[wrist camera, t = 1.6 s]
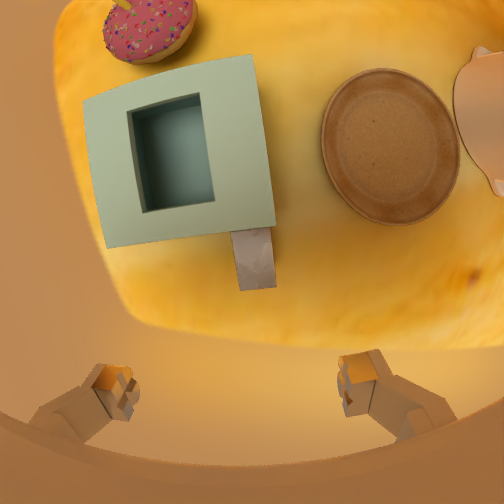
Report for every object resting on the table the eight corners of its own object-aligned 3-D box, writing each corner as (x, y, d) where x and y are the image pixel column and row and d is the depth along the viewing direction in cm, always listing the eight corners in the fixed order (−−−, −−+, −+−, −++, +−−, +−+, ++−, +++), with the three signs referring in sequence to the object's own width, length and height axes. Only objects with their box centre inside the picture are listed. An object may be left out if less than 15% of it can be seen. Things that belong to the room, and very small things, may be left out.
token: (268, 214, 26) (269, 227, 22) (274, 264, 28) (276, 286, 23) (236, 218, 27) (230, 232, 22) (244, 268, 28) (240, 290, 23)
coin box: (256, 86, 22) (252, 54, 14) (272, 203, 26) (276, 225, 18) (133, 113, 23) (82, 101, 15) (150, 221, 27) (107, 248, 19)
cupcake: (111, 59, 21) (39, 25, 10) (158, -3, 19) (110, -60, 8) (173, 88, 23) (113, 48, 11) (224, 21, 20) (199, -50, 9)
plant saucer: (411, 243, 27) (422, 251, 24) (289, 176, 25) (292, 179, 23) (462, 128, 22) (476, 127, 20) (351, 49, 21) (359, 40, 18)
